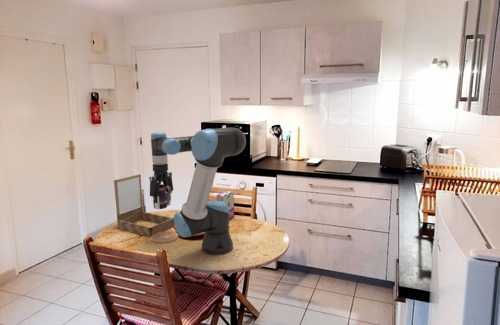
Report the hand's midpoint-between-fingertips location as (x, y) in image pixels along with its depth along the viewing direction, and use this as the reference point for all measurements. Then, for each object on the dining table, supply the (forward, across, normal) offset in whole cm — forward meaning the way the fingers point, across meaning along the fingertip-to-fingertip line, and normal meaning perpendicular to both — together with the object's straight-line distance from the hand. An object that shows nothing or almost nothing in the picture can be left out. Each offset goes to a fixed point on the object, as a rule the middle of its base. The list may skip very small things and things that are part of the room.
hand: (162, 206), depth 182 cm
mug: (+1, 0, 0) cm, 1 cm away
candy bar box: (+17, -39, +12) cm, 44 cm away
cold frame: (+17, -6, -20) cm, 27 cm away
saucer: (+17, 0, 0) cm, 17 cm away
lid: (+9, -6, -32) cm, 34 cm away
